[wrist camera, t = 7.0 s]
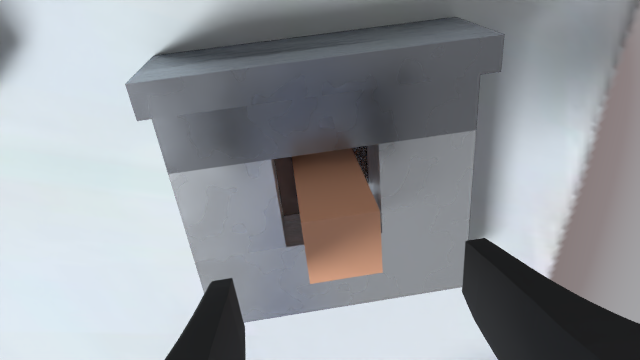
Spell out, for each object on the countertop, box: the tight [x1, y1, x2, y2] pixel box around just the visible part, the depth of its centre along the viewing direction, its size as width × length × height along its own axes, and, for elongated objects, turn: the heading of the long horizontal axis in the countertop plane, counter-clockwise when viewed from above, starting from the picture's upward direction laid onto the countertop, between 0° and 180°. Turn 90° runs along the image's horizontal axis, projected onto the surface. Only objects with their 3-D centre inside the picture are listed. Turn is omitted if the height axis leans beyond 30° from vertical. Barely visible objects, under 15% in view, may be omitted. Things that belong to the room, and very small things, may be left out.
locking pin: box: [292, 148, 383, 284], centre depth 17 cm, size 3×3×6 cm
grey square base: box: [125, 17, 504, 322], centre depth 18 cm, size 12×12×4 cm
